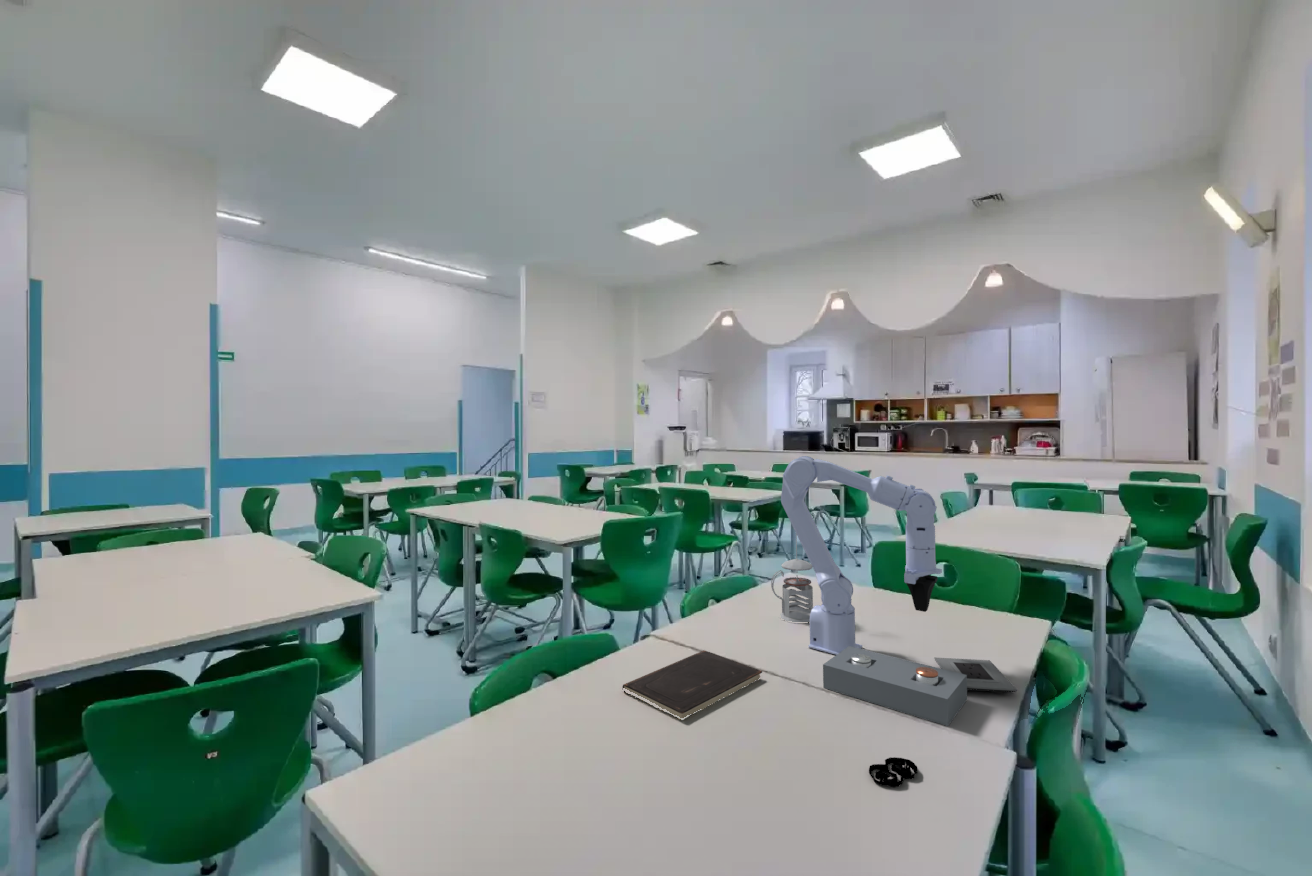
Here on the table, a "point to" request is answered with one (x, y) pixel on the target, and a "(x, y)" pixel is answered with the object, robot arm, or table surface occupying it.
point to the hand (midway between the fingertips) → (921, 610)
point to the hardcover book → (693, 682)
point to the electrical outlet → (978, 674)
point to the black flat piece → (902, 772)
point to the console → (896, 685)
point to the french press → (796, 592)
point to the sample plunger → (861, 660)
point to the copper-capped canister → (927, 675)
